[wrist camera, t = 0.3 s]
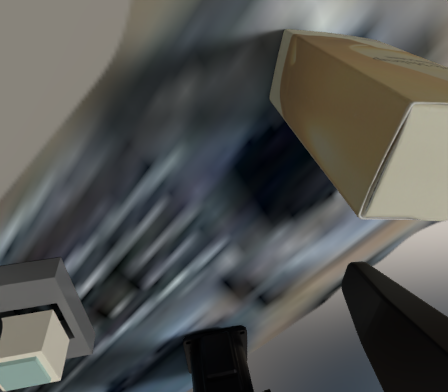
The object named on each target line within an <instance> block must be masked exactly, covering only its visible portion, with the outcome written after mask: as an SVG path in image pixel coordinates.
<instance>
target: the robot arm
mask: <svg viewBox="0 0 448 392" xmlns="http://www.w3.org/2000/svg"><path fill="white" fill-rule="evenodd" d="M341 286H342V292H343V295H344V297H345V300H346V303H347V306H348V309H349V311H350V314H351V317H352V319H353V322H354V325H355V328H356V331H357V333H358V336H359V339H360V341H361V344H362V346H363V348H364V351H365V353H366V355H367V357H368V359H369V361H370V363H371V365H372V367H373V369H374V371H375V374H376V376H377V378H378V380H379V382H380V384H381V386H382V388H383V390H384V392H448V317H447V316H445V315H444V314H442V313H441V312H439V311H438V310H436V309H435V308H433V307H432V306H430V305H429V304H427V303H426V302H424V301H423V300H421V299H420V298H418V297H417V296H415V295H414V294H412V293H411V292H409V291H408V290H406V289H405V288H403V287H402V286H400V285H399V284H398V283H396V282H394V281H393V280H391V279H390V278H389V277H387V276H386V275H384V274H383V273H381V272H380V271H378V270H377V269H375V268H374V267H372V266H371V265H369V264H368V263H366V262H362V261H361V262H351V263H350V264H348V266H347V269H346V272H345V274H344V277H343V280H342V285H341ZM2 329H3V322H2V318H1V316H0V338H1V334H2ZM183 345H184V350H185V355H186V360H187V365H188V370H189V373H191V374H192V383H193V392H254V389H253V385H252V381H251V377H250V373H249V368H248V364H247V330H246V327H244V326H242V327H236V328H231V329H225V330H220V331H214V332H209V333H203V334H198V335H192V336H187V337H185V338H184V339H183ZM264 392H271V391H270V389H268V390H265V391H264Z"/></svg>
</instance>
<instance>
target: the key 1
mask: <svg viewBox="0 0 448 392" xmlns="http://www.w3.org/2000/svg"><path fill="white" fill-rule="evenodd" d="M2 322H3V329H2V334H1V338H0V388H1V390H2V391H9V390H14V389H20V388H25V387H30V386H35V385H41V384H46V383H50V382H56V381H61V377H62V372H63V367H64V363H65V358H66V354H67V349H68V344H69V338H68V336H67V334H66V333H65V331H64V329H63V327H62V325H61V323H60V322H59V320H58V318H57V316H56V314H55V312H54V310H48V311H41V312H35V313H29V314H23V315H17V316H11V317H5V318H2Z"/></svg>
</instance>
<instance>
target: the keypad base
mask: <svg viewBox="0 0 448 392" xmlns="http://www.w3.org/2000/svg"><path fill="white" fill-rule="evenodd" d="M54 303H57V304H58V306H59V308H60V310H61V312H62V314H63V316H64V318H65V320H61V321H59V322H60V323H61V325H62V327H63V329H64V331H65V333H66V334H67V336H68V338H69V344H68V349H67V354H66V358H65V359H68V358H74V357H79V356H84V355H90V354H92V353H93V347H94V340H95V332H94V329H93V327H92V325H91V323H90V321H89V318H88V316H87V314H86V312H85V310H84V307H83V305H82V303H81V301H80V299H79V296H78V294H77V292H76V290H75V288H74V285H73V283H72V281H71V279H70V277H69V274H68V272H67V270H66V268H65V266H64V263H63V261H62V259H61V257H59V258H52V259H45V260H39V261H32V262H25V263H18V264H12V265H5V266H0V316H1V318H5V317H11V316H17V315H16V314H15V312H14V311H13V310H18V309H24V308H30V307H36V306H42V305H48V304H54Z"/></svg>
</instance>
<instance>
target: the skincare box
mask: <svg viewBox="0 0 448 392" xmlns="http://www.w3.org/2000/svg"><path fill="white" fill-rule="evenodd" d="M269 99H270V101H271V103H272V104H273V105H274V106H275V108H276V109H277V111H278V112H279V113H280V115H281V116H282V117H283V118H284V120H285V121H286V122H287V124H288V125H289V126H290V128H291V129H292V130H293V132H294V133H295V134H296V136H297V137H298V138H299V140H300V141H301V142H302V144H303V145H304V146H305V148H306V149H307V150H308V152H309V153H310V154H311V156H312V157H313V158H314V160H315V161H316V162H317V164H318V165H319V166H320V167H321V169H322V170H323V171H324V173H325V174H326V175H327V177H328V178H329V179H330V181H331V182H332V183H333V185H334V186H335V187H336V188H337V190H338V191H339V193H340V194H341V195H342V197H343V198H344V199H345V200H346V202H347V203H348V205H349V206H350V207H351V209H352V210H353V211H354V212H355V214H356V215H357V217H359V218H360V219H395V220H425V221H443V220H448V68H447V67H445V66H442V65H439V64H437V63H434V62H432V61H429V60H426V59H424V58H421V57H418V56H416V55H413V54H410V53H408V52H405V51H403V50H400V49H398V48H395V47H393V46H390V45H388V44H385V43H382V42H380V41H377V40H372V39H367V38H361V37H355V36H349V35H342V34H334V33H326V32H314V31H303V30H292V29H285V30H284V32H283V37H282V41H281V45H280V49H279V53H278V58H277V62H276V67H275V71H274V76H273V81H272V86H271V91H270V97H269Z"/></svg>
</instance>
